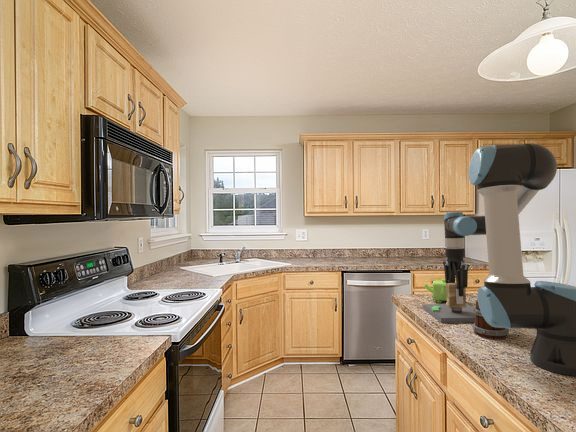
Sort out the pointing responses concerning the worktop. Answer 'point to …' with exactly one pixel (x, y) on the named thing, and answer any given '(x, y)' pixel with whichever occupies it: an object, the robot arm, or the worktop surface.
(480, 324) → the mug
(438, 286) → the kettle
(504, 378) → the worktop surface
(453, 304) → the peg key
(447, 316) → the board
